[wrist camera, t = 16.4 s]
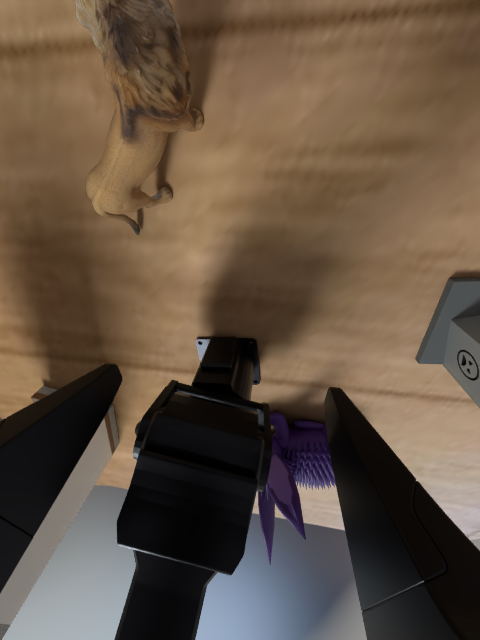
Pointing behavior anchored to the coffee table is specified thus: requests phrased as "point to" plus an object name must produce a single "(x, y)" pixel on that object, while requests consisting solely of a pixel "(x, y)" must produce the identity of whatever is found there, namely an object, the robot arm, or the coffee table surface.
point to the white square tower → (58, 515)
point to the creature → (293, 472)
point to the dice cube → (465, 354)
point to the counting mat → (449, 317)
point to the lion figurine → (137, 98)
